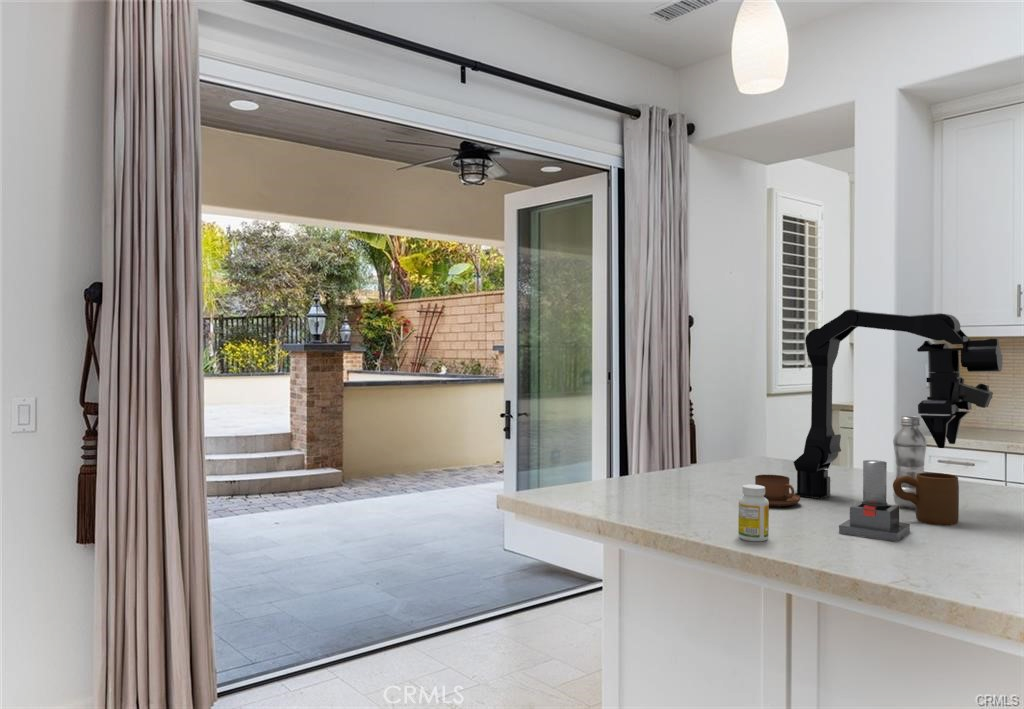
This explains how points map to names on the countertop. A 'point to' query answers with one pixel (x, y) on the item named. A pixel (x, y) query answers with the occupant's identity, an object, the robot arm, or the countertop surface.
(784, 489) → the cup and saucer
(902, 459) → the plastic bottle
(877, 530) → the stand sleeve
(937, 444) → the robot arm
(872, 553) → the countertop surface
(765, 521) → the supplement bottle
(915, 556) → the countertop surface
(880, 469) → the grey ridged cylinder
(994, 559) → the countertop surface
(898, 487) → the mug
